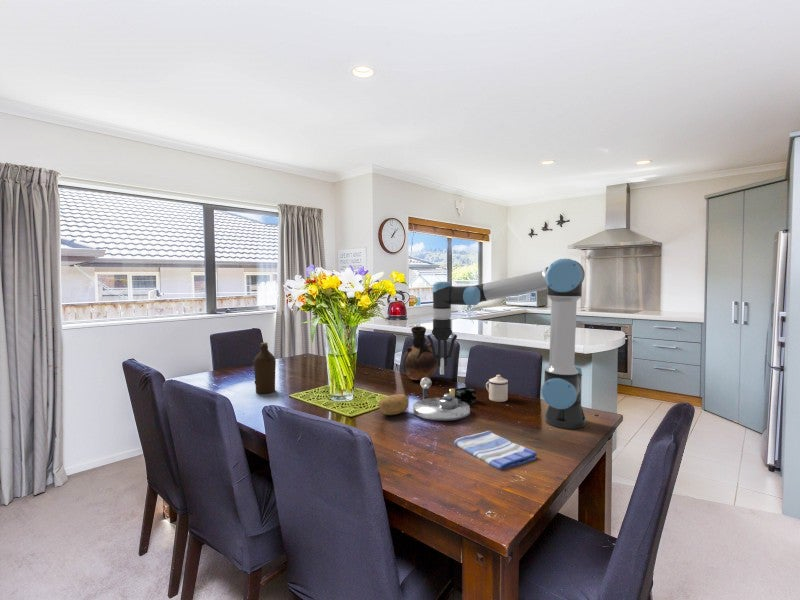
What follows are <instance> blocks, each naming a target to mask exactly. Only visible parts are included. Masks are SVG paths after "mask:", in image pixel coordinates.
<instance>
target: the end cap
mask: <svg viewBox="0 0 800 600" xmlns="http://www.w3.org/2000/svg"><path fill="white" fill-rule="evenodd" d="M454 389H455V398H457V399H458V400H460V401H463V402H465V403H467V404H468V405H473V404H476V402H477V401H476V400H477V396H476V395H477V390H475V389H473V387H472V385H471V386H465V387H458V388H454ZM473 394H475V395H473Z"/></svg>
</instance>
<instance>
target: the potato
mask: <svg viewBox="0 0 800 600" xmlns="http://www.w3.org/2000/svg"><path fill="white" fill-rule="evenodd" d="M377 406H378V408H379V410H380V411H381V412H382V413H384V414H385V415H387V416H395V415H398V414H401V413H403V412H405V411H406V410H407V409H408V408H409V398H408V397H407V395H405V394H404V393H399V394H390V395H388V396H385V397H383V398H381V399H380V400H379V401H378V405H377Z"/></svg>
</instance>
